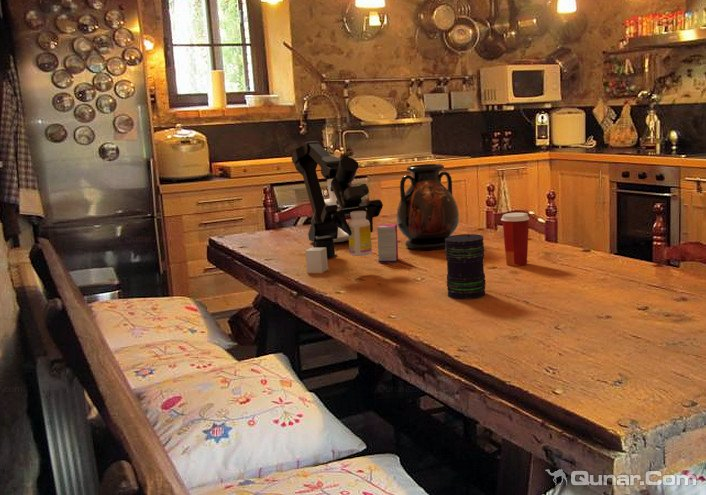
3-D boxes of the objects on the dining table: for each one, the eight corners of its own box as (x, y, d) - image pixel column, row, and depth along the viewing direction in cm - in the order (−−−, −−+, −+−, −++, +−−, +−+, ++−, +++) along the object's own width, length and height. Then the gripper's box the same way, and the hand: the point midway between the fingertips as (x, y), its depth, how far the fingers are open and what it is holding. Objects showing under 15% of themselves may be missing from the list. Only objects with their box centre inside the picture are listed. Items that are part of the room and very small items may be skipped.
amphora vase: (444, 238, 278) (440, 161, 273) (471, 247, 258) (468, 164, 253) (389, 245, 271) (384, 166, 266) (412, 255, 251) (408, 170, 246)
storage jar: (476, 301, 189) (474, 241, 186) (440, 298, 194) (438, 240, 191) (491, 291, 197) (489, 234, 194) (456, 289, 202) (454, 233, 200)
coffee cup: (533, 261, 229) (532, 212, 226) (527, 267, 222) (526, 216, 219) (505, 260, 233) (504, 212, 230) (499, 266, 225) (497, 216, 223)
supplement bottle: (374, 252, 231) (372, 210, 228) (368, 256, 225) (365, 213, 222) (353, 251, 233) (351, 210, 231) (346, 256, 227) (343, 213, 225)
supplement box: (396, 262, 242) (394, 226, 239) (378, 262, 243) (375, 227, 241) (399, 258, 247) (397, 223, 245) (381, 259, 248) (379, 224, 246)
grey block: (307, 272, 235) (305, 250, 234) (313, 269, 240) (311, 247, 238) (322, 273, 233) (320, 250, 232) (327, 269, 238) (326, 247, 237)
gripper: (321, 178, 224) (338, 220, 217) (378, 172, 232) (397, 212, 224) (314, 202, 233) (330, 243, 225) (369, 196, 240) (386, 235, 232)
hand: (361, 233), depth 226 cm, fingers closed on supplement bottle, 7 cm apart
